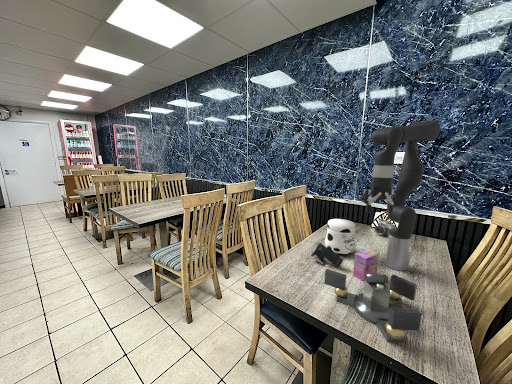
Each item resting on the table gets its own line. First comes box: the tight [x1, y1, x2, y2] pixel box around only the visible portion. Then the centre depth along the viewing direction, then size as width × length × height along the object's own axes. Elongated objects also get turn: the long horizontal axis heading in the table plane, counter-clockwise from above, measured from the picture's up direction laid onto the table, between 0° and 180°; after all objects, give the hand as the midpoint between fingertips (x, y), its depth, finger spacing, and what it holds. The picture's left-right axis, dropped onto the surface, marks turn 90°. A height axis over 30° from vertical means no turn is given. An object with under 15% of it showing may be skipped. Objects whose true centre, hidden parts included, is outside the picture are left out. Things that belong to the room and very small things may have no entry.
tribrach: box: [336, 273, 406, 343], centre depth 72 cm, size 25×22×14 cm
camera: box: [374, 218, 396, 238], centre depth 149 cm, size 16×10×10 cm, turn 0°
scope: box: [310, 242, 344, 268], centre depth 108 cm, size 8×14×10 cm, turn 42°
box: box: [352, 248, 380, 282], centre depth 96 cm, size 10×6×12 cm, turn 117°
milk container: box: [324, 218, 356, 255], centre depth 122 cm, size 17×17×18 cm
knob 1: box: [387, 274, 418, 302], centre depth 77 cm, size 9×5×8 cm, turn 35°
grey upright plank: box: [323, 268, 349, 297], centre depth 82 cm, size 9×5×8 cm, turn 56°
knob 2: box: [385, 307, 422, 340], centre depth 62 cm, size 9×5×8 cm, turn 86°
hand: (378, 212), depth 87 cm, fingers open, 8 cm apart
